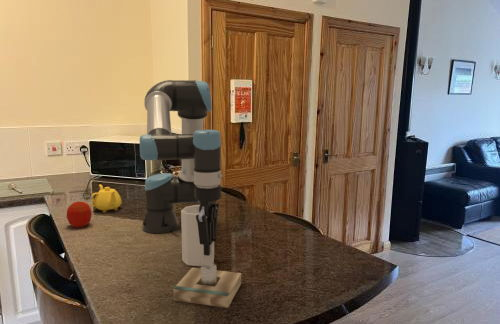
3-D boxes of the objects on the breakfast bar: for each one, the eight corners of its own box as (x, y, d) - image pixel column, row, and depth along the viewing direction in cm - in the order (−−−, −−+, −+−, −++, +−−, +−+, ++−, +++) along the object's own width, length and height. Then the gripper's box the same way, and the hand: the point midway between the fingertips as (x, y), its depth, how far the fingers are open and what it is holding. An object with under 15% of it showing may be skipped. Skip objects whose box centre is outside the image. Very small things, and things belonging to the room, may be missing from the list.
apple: (96, 225, 168) (94, 200, 166) (73, 231, 161) (71, 205, 159) (86, 220, 175) (84, 196, 173) (63, 225, 168) (61, 200, 166)
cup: (200, 269, 127) (199, 216, 124) (175, 261, 133) (174, 210, 130) (220, 258, 136) (220, 207, 133) (196, 251, 142) (195, 203, 139)
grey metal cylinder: (198, 294, 111) (198, 268, 110) (204, 287, 116) (204, 262, 114) (213, 297, 110) (213, 271, 109) (219, 289, 114) (218, 264, 113)
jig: (173, 300, 108) (173, 287, 107) (192, 277, 121) (192, 266, 121) (227, 307, 104) (227, 295, 104) (241, 283, 118) (241, 272, 117)
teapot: (84, 207, 195) (83, 186, 193) (113, 202, 204) (112, 181, 202) (98, 217, 180) (96, 193, 178) (128, 211, 189) (127, 189, 187)
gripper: (212, 191, 100) (213, 275, 104) (227, 181, 113) (227, 256, 117) (186, 189, 102) (187, 272, 106) (203, 179, 114) (204, 253, 118)
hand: (208, 263), depth 111 cm, fingers closed
